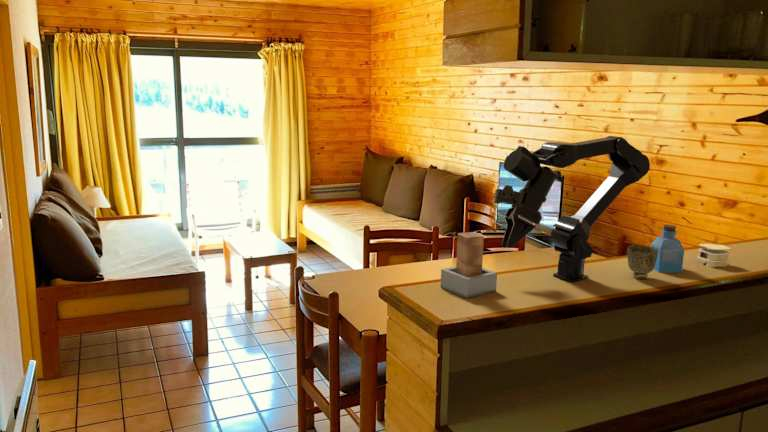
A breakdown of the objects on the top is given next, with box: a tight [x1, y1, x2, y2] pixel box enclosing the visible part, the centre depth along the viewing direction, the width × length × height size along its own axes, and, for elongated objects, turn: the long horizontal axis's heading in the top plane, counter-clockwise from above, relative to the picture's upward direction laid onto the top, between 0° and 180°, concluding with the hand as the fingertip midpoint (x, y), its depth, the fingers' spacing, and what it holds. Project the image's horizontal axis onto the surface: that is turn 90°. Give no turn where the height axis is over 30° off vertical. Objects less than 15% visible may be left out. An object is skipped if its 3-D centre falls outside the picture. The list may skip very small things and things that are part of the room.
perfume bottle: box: [650, 224, 685, 274], centre depth 169 cm, size 6×6×12 cm
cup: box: [627, 244, 659, 280], centre depth 161 cm, size 8×7×8 cm
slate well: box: [440, 266, 498, 300], centre depth 151 cm, size 9×9×5 cm
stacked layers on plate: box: [697, 243, 731, 268], centre depth 174 cm, size 10×9×6 cm
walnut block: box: [456, 231, 485, 277], centre depth 150 cm, size 4×4×13 cm
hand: (505, 246), depth 152 cm, fingers open, 9 cm apart
